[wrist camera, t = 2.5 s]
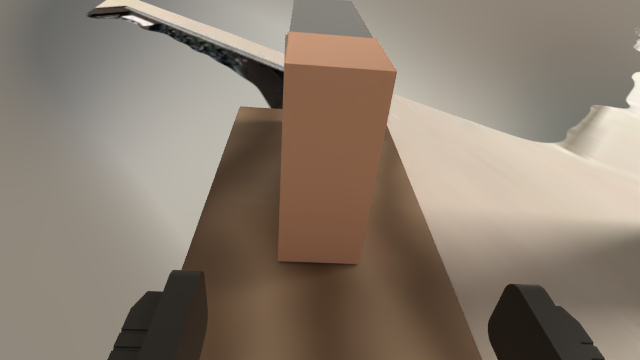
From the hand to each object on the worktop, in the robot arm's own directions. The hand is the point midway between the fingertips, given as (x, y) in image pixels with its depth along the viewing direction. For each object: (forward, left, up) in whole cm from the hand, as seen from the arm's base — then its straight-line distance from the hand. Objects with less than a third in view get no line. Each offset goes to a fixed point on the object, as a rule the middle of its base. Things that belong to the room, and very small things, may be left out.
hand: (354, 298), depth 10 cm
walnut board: (0, -18, -11) cm, 20 cm away
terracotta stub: (0, -13, -9) cm, 16 cm away
